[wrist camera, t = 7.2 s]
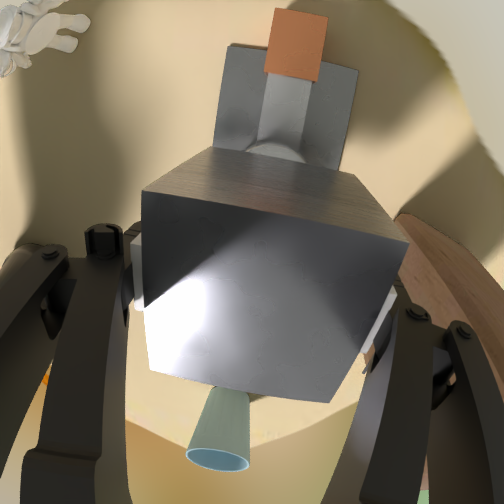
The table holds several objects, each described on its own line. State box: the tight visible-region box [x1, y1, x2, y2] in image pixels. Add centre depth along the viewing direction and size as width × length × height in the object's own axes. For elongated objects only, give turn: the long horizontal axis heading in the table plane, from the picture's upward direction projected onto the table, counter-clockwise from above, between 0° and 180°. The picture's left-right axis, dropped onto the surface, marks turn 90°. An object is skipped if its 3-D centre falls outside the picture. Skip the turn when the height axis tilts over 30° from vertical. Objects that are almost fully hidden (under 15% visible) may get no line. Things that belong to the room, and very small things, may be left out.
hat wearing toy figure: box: [0, 0, 91, 79], centre depth 13 cm, size 9×4×12 cm, turn 138°
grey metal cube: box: [141, 146, 410, 403], centre depth 12 cm, size 7×7×8 cm
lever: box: [212, 8, 359, 170], centre depth 19 cm, size 10×19×7 cm, turn 171°
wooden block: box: [363, 213, 504, 490], centre depth 18 cm, size 10×10×20 cm
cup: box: [186, 386, 250, 472], centre depth 34 cm, size 8×8×10 cm
